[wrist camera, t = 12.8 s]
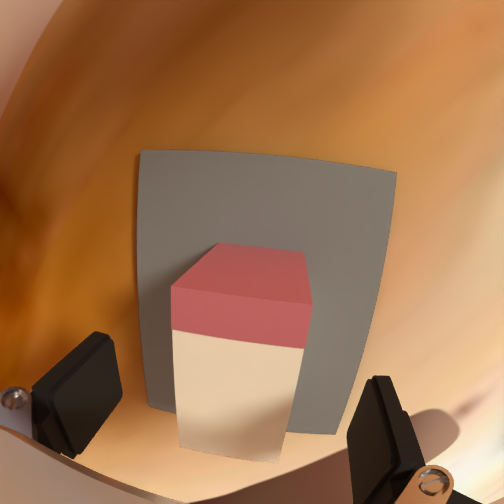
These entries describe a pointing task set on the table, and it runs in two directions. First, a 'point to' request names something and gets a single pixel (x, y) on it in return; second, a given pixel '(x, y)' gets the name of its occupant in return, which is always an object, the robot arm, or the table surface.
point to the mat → (267, 236)
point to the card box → (239, 349)
